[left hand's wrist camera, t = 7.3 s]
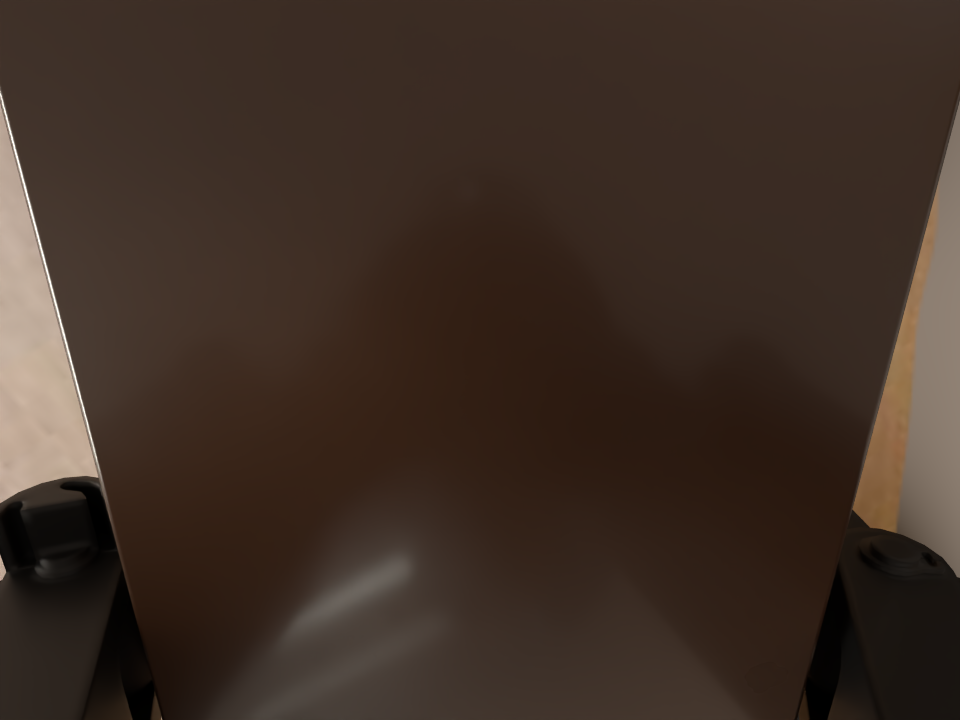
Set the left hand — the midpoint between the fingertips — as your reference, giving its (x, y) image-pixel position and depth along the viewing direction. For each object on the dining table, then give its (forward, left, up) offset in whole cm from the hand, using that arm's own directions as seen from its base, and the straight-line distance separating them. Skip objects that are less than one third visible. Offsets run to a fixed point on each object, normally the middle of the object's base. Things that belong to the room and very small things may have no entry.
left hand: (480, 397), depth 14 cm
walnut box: (+10, 0, -1) cm, 10 cm away
